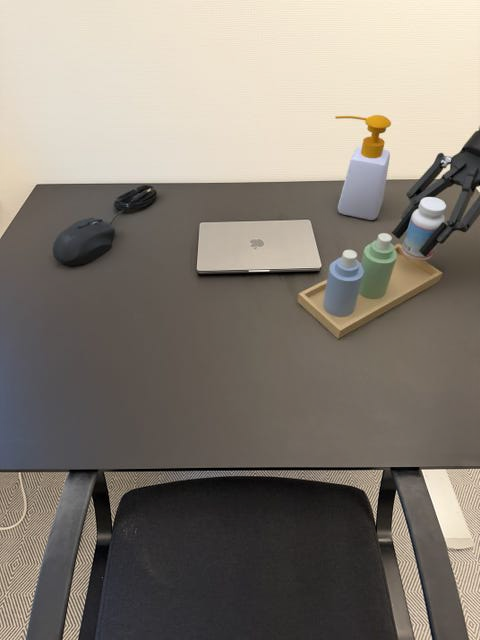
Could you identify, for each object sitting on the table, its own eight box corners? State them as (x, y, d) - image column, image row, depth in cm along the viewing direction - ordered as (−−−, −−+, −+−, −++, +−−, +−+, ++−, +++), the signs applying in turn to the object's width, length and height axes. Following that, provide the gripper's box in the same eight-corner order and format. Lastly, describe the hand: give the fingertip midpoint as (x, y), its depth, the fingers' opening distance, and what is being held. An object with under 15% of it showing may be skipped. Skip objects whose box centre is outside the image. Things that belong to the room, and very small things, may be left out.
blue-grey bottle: (358, 300, 90) (372, 249, 81) (348, 321, 87) (361, 269, 77) (329, 291, 92) (339, 239, 83) (318, 310, 88) (327, 258, 79)
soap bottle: (327, 191, 118) (341, 101, 102) (382, 202, 115) (406, 110, 99) (317, 211, 112) (330, 118, 96) (375, 223, 109) (399, 129, 93)
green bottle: (389, 284, 93) (405, 232, 84) (381, 302, 90) (397, 251, 81) (360, 274, 95) (373, 223, 86) (351, 292, 92) (363, 241, 83)
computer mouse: (46, 262, 99) (38, 241, 95) (134, 188, 119) (130, 168, 115) (82, 275, 96) (75, 254, 92) (166, 197, 116) (163, 177, 112)
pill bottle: (434, 262, 92) (453, 214, 84) (402, 260, 93) (418, 211, 84) (430, 243, 96) (447, 195, 88) (399, 241, 97) (414, 193, 88)
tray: (396, 251, 102) (398, 243, 100) (439, 281, 95) (442, 272, 94) (297, 301, 91) (298, 293, 89) (338, 339, 85) (340, 330, 83)
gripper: (544, 172, 82) (453, 277, 88) (455, 131, 93) (379, 227, 99) (541, 152, 77) (443, 265, 82) (446, 111, 87) (366, 214, 93)
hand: (408, 244), depth 91 cm, fingers closed on pill bottle, 6 cm apart
